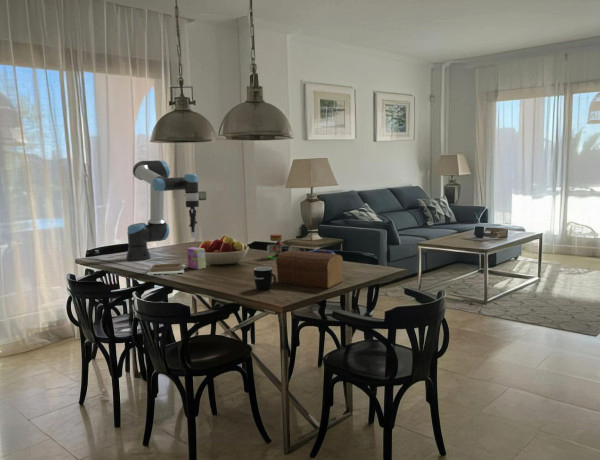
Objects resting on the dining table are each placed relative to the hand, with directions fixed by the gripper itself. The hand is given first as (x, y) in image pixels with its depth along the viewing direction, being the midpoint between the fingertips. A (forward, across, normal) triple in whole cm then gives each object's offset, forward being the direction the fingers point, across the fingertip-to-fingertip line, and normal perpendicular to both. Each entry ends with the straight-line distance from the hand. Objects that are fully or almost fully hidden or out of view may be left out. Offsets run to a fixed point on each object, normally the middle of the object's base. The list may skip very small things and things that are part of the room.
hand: (193, 236), depth 308 cm
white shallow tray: (+19, +4, -16) cm, 25 cm away
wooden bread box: (+20, +54, +60) cm, 83 cm away
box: (+19, -1, +1) cm, 19 cm away
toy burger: (+20, -22, +52) cm, 59 cm away
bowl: (+20, +21, +72) cm, 77 cm away
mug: (+20, +63, +36) cm, 75 cm away
